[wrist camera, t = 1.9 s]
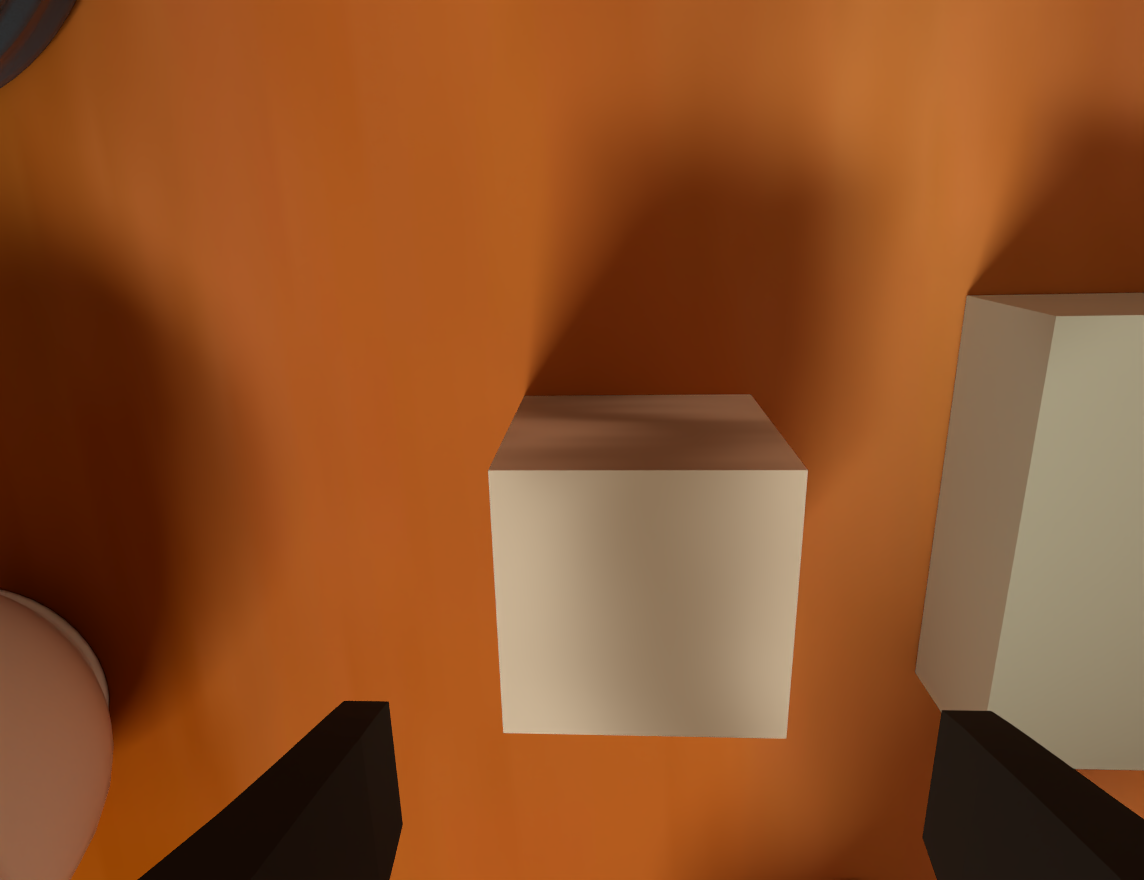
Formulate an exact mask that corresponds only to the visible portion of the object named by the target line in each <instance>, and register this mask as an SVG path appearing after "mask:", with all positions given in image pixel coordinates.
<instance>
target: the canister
mask: <svg viewBox="0 0 1144 880" xmlns="http://www.w3.org/2000/svg"><path fill="white" fill-rule="evenodd" d="M75 1H76V0H0V88H2V87H3V86H4V85H6V84H7V83H9V82H10V81H11V80H13V79H14V78H15V77H17V76H18V75H19V74H20V73H21V72H22V71H23V70H25V69H26V68H27V67H28V66H29V65H30V64H31V63H32V62H33V61H34V60H35V59H36V58H37V57H38V56H39V55H40V54H41V52H42V51H43V50H44V49H45V48H46V47H47V45H48V44H49V43H50V41H51V40H52V39H53V38H54V36H55V35H56V34H57V32H58V31H59V29H60V28H61V26H62V24H63V23H64V21H65V20H66V18H67V16H68V15H69V13H70V11H71V9H72V7H73V5H74V3H75Z"/></svg>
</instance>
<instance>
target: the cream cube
mask: <svg viewBox="0 0 1144 880" xmlns="http://www.w3.org/2000/svg"><path fill="white" fill-rule="evenodd" d="M488 476H489V493H490V510H491V528H492V545H493V562H494V579H495V596H496V613H497V631H498V648H499V665H500V682H501V699H502V716H503V733H535V734H585V735H635V736H685V737H735V738H785V739H786V736H787V723H788V711H789V699H790V686H791V674H792V661H793V649H794V637H795V624H796V612H797V600H798V587H799V575H800V562H801V550H802V538H803V525H804V513H805V501H806V488H807V476H808V470H807V468H806V467H805V466H804V464H803V463H802V462H801V460H800V459H799V458H798V456H797V455H796V454H795V452H794V451H793V450H792V448H791V447H790V446H789V444H788V443H787V442H786V440H785V439H784V438H783V436H782V435H781V434H780V432H779V431H778V430H777V428H776V427H775V426H774V425H773V423H772V422H771V421H770V419H769V418H768V417H767V415H766V414H765V413H764V411H763V410H762V409H761V407H760V406H759V405H758V403H757V402H756V401H755V399H754V398H753V397H752V395H751V394H714V395H579V396H524V398H523V400H522V402H521V404H520V406H519V408H518V410H517V412H516V414H515V416H514V418H513V420H512V422H511V424H510V426H509V429H508V431H507V433H506V435H505V437H504V439H503V441H502V443H501V445H500V447H499V449H498V451H497V453H496V455H495V457H494V460H493V462H492V464H491V466H490V468H489V470H488Z"/></svg>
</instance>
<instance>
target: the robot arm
mask: <svg viewBox="0 0 1144 880" xmlns="http://www.w3.org/2000/svg"><path fill="white" fill-rule="evenodd" d="M402 825H403V823H402V814H401V806H400V797H399V788H398V779H397V771H396V762H395V753H394V744H393V736H392V727H391V718H390V709H389V702H381V701H344V702H342V703H341V704H340V705H339V706H338V707H337V708H335V709H334V710H333V711H332V712H331V713H330V714H329V715H328V716H326V717H325V718H324V719H323V720H322V721H321V722H320V723H319V724H318V725H317V726H315V727H314V728H313V729H312V730H311V731H310V732H309V733H308V734H307V735H306V736H305V737H303V738H302V739H301V740H300V741H299V742H298V743H297V744H296V745H295V746H294V747H293V748H291V749H290V750H289V751H288V752H287V753H286V754H285V755H284V756H283V757H282V758H280V759H279V760H278V761H277V762H276V763H275V764H274V765H273V766H272V767H271V768H269V769H268V770H267V771H266V772H265V773H264V774H263V775H262V776H260V777H259V778H258V779H257V780H256V781H255V782H254V783H253V784H251V785H250V786H249V787H248V788H247V789H246V790H245V791H244V792H242V793H241V794H240V795H239V796H238V797H237V798H236V799H235V800H233V801H232V802H231V803H230V804H229V805H228V806H227V807H225V808H224V809H223V810H222V811H221V812H220V813H219V814H217V815H216V816H215V817H214V818H212V819H211V820H210V821H209V822H208V823H206V824H205V825H204V826H203V827H201V828H200V829H199V830H198V831H197V832H195V833H194V834H193V835H192V836H191V837H189V838H188V839H187V840H186V841H184V842H183V843H182V844H181V845H180V846H178V847H177V848H176V849H175V850H173V851H172V852H171V853H170V854H169V855H167V856H166V857H165V858H164V859H162V860H161V861H160V862H159V863H158V864H156V865H155V866H154V867H153V868H151V869H150V870H149V871H148V872H147V873H145V874H144V875H143V876H142V877H140V878H139V879H138V880H389V879H390V875H391V871H392V867H393V863H394V859H395V855H396V850H397V846H398V842H399V838H400V833H401V829H402ZM923 840H924V843H925V846H926V849H927V852H928V855H929V857H930V860H931V863H932V866H933V869H934V872H935V875H936V878H937V880H1144V819H1143V818H1141V817H1140V816H1138V815H1137V814H1136V813H1134V812H1133V811H1131V810H1130V809H1129V808H1127V807H1126V806H1124V805H1123V804H1122V803H1120V802H1119V801H1117V800H1116V799H1115V798H1113V797H1112V796H1111V795H1109V794H1108V793H1106V792H1105V791H1104V790H1102V789H1101V788H1099V787H1098V786H1097V785H1095V784H1094V783H1093V782H1091V781H1090V780H1088V779H1087V778H1086V777H1084V776H1083V775H1082V774H1080V773H1079V772H1077V771H1076V770H1075V769H1073V768H1072V767H1071V766H1069V765H1068V764H1066V763H1065V762H1064V761H1062V760H1061V759H1060V758H1058V757H1057V756H1055V755H1054V754H1053V753H1051V752H1050V751H1049V750H1047V749H1046V748H1044V747H1043V746H1042V745H1040V744H1039V743H1037V742H1036V741H1035V740H1033V739H1032V738H1030V737H1029V736H1028V735H1026V734H1025V733H1023V732H1022V731H1021V730H1019V729H1018V728H1016V727H1015V726H1013V725H1012V724H1010V723H1009V722H1008V721H1006V720H1005V719H1003V718H1001V717H1000V716H998V715H997V714H995V713H994V712H992V711H970V710H942V713H941V720H940V726H939V733H938V739H937V746H936V752H935V759H934V765H933V772H932V779H931V785H930V792H929V798H928V805H927V811H926V818H925V824H924V831H923Z"/></svg>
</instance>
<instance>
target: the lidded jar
mask: <svg viewBox="0 0 1144 880" xmlns="http://www.w3.org/2000/svg"><path fill="white" fill-rule="evenodd" d="M113 749H114V744H113V735H112V725H111V719H110V713H109V692H108V685H107V681H106V678H105V674H104V671H103V669H102V667H101V665H100V663H99V660H98V658H97V657H96V655H95V654H94V652H93V650H92V649H91V647H90V646H89V644H88V643H87V642H86V641H85V640H84V638H83V637H82V636H81V635H80V634H79V632H78V631H77V630H76V629H74V628H73V627H72V626H71V625H70V624H69V623H68V622H67V621H66V620H65V619H63V618H62V617H60V616H59V615H58V614H56V613H55V612H53V611H52V610H51V609H49V608H47V607H45V606H44V605H42V604H40V603H38V602H36V601H34V600H32V599H30V598H27V597H25V596H22V595H20V594H17V593H13V592H9V591H5V590H1V589H0V880H70V879H71V878H72V876H73V874H74V872H75V870H76V869H77V867H78V865H79V863H80V861H81V859H82V857H83V855H84V853H85V852H86V850H87V848H88V846H89V844H90V842H91V840H92V838H93V836H94V834H95V832H96V829H97V826H98V823H99V820H100V816H101V813H102V810H103V807H104V804H105V800H106V797H107V794H108V790H109V787H110V781H111V771H112V760H113Z"/></svg>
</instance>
